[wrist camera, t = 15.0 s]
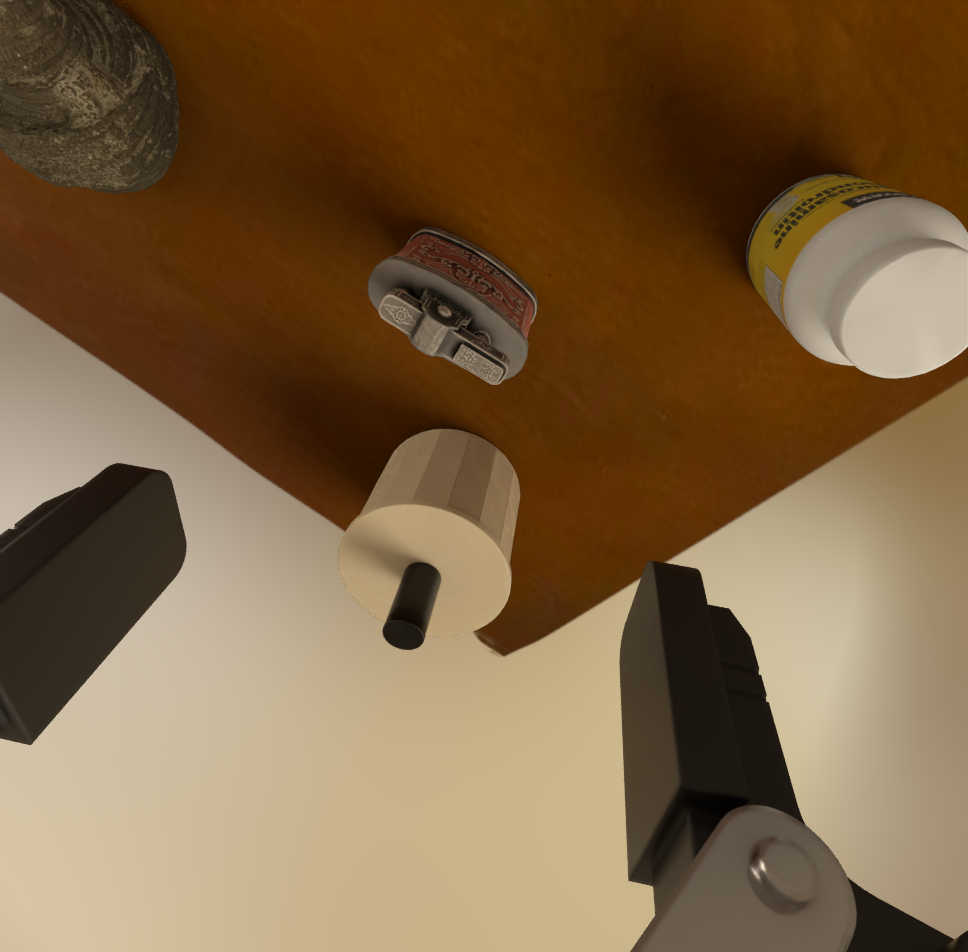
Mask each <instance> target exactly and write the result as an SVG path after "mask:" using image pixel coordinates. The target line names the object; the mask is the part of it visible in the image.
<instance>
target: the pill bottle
mask: <svg viewBox="0 0 968 952" xmlns="http://www.w3.org/2000/svg"><path fill="white" fill-rule="evenodd" d="M746 262H747V270H748V274H749V277H750V279H751V282H752V284H753V286H754V287H755V289H756V290H757V292H758V293H759V294H760V295H761V297H762V298H763V299H764V300H765V302H766V303H767V304H768V305H769V307H770V308H771V309H772V310H773V312H774V313H775V314H776V315H777V317H778V318H779V319H780V320H781V322H782V323H783V324H784V325H785V327H786V328H787V329H788V330H789V332H790V333H791V334H792V336H793V337H794V338H795V339H796V340H797V341H798V342H799V343H800V344H801V345H802V346H803V347H804V348H805V349H806V350H807V351H809V352H810V353H811V354H813V355H815V356H817V357H818V358H820V359H823V360H825V361H828V362H832V363H836V364H841V365H851V366H856V367H857V368H858V369H860V370H861V371H863V372H865V373H868V374H871V375H874V376H878V377H884V378H904V377H911V376H915V375H919V374H923V373H926V372H928V371H931V370H933V369H936V368H938V367H939V366H942V365H944V364H945V363H947V362H948V361H950V360H951V359H953V358H954V357H956V356H957V355H959V354H960V353H961V352H962V351H963V350H965V349H966V348H967V347H968V233H967V231H966V229H965V228H964V226H963V225H962V224H961V222H960V221H959V220H958V219H957V218H956V217H955V216H954V215H953V214H952V213H950V212H949V211H948V210H946V209H944V208H943V207H941V206H939V205H937V204H934V203H932V202H930V201H927V200H925V199H921V198H918V197H915V196H913V195H909V194H906V193H903V192H901V191H898V190H895V189H892V188H889V187H886V186H883V185H880V184H877V183H874V182H871V181H868V180H865V179H863V178H860V177H855V176H852V175H846V174H824V175H819V176H815V177H811V178H808V179H806V180H803V181H801V182H799V183H797V184H795V185H793V186H791V187H790V188H788V189H787V190H785V191H784V192H782V193H781V194H780V195H779V196H777V197H776V198H775V199H774V200H773V201H772V202H771V203H770V204H769V205H768V206H767V207H766V209H765V210H764V211H763V212H762V214H761V215H760V217H759V218H758V220H757V222H756V223H755V225H754V227H753V230H752V232H751V235H750V237H749V241H748V246H747V254H746Z"/></svg>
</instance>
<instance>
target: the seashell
mask: <svg viewBox="0 0 968 952" xmlns="http://www.w3.org/2000/svg"><path fill="white" fill-rule="evenodd" d="M176 87H177V81H176V77H175V73H174V69H173V65H172V63H171V62H170V59H169V57H168V55H167V53H166V51H165V50H164V48H163V47H162V46H161V45H160V43H159V42H158V41H157V39H156V38H155V37H153V36H152V35H151V34H150V33H149V32H147V31H146V30H145V29H143V28H142V27H141V26H139V25H138V24H136V23H135V22H134V21H133V20H132V19H131V18H130V17H129V16H128V15H127V14H126V13H125V12H124V11H123V10H121V9H120V8H119V7H118V6H117V5H116V4H114V3H113V2H112V1H110V0H0V149H1V150H2V151H3V152H4V153H5V154H6V155H7V156H8V157H9V158H10V159H12V160H13V161H15V162H16V163H18V164H20V165H21V166H23V167H24V168H25V169H26V170H27V171H29V172H30V173H32V174H34V175H36V176H37V177H39V178H41V179H43V180H44V181H46V182H49V183H52V184H54V185H56V186H61V187H67V188H73V187H76V186H78V187H84V188H90V189H93V190H96V191H100V192H110V193H114V194H116V193H128V192H136V191H139V190H143V189H146V188H149V187H151V186H152V185H154V184H155V183H156V182H158V181H159V180H160V179H161V178H162V177H163V176H164V175H165V173H166V172H167V170H168V168H169V166H170V164H171V162H172V159H173V157H174V154H175V151H176V147H177V145H178V142H179V132H178V128H179V127H178V122H179V111H180V105H179V102H178V100H177V90H176ZM66 263H67V262H66ZM81 286H82V285H81Z"/></svg>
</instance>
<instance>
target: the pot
mask: <svg viewBox="0 0 968 952" xmlns="http://www.w3.org/2000/svg"><path fill="white" fill-rule="evenodd" d="M405 499H411V500H425V501H432V502H436V503H440V504H444V505H447V506H450V507H453V508H455V509H457V510H459V511H461V512H464V513H466V514H467V515H469V516H471V517H472V518H474V519H475V520H477V521H478V522H479V523H481V524H482V525H483V526H485V527H486V528H487V529H488V530H489V531H490V532H491V533H492V534H493V535H494V537H495V538H496V539H497V540H498V541H499V543H500V544H501V546H502V548H503V549H504V551H505V553H506V555H507V558H508V560H509V563H510V557H511V551H512V544H513V538H514V532H515V525H516V519H517V513H518V506H519V500H520V487H519V482H518V478H517V475H516V473H515V470H514V468H513V467H512V465H511V463H510V462H509V460H508V459H507V458H506V456H505V455H504V454H503V453H502V452H501V451H500V450H499V449H497V448H496V447H495V446H494V445H493V444H491V443H489V442H488V441H486V440H485V439H483V438H481V437H479V436H477V435H474V434H471V433H468V432H465V431H460V430H454V429H435V430H429V431H425V432H421V433H419V434H416V435H414V436H412V437H410V438H409V439H407V440H405V441H404V442H403V443H402V444H400V445H399V447H398V448H397V449H396V450H395V451H394V452H393V454H392V456H391V457H390V459H389V461H388V463H387V465H386V467H385V468H384V470H383V472H382V474H381V476H380V478H379V480H378V482H377V483H376V485H375V487H374V489H373V491H372V493H371V495H370V497H369V499H368V501H367V502H366V504H365V506H364V508H363V510H362V512H361V514H362V513H363V512H364V511H366V510H368V509H370V508H372V507H374V506H377V505H379V504H382V503H386V502H390V501H395V500H405Z"/></svg>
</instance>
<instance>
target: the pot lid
mask: <svg viewBox="0 0 968 952" xmlns="http://www.w3.org/2000/svg"><path fill="white" fill-rule="evenodd" d="M338 566H339V571H340V575H341V578H342V580H343V582H344V584H345V586H346V588H347V589H348V591H349V592H350V594H351V595H352V597H353V598H354V599H355V600H356V601H357V602H358V603H359V604H360V605H361V606H362V607H363V608H364V609H365V610H366V611H368V612H369V613H370V614H371V615H373V616H374V617H376V618H377V619H379V620H381V621H383V622H384V623H385V625H384V627H383V636H384V638H385V639H386V641H387V642H388V643H389V644H391V645H392V646H394V647H396V648H399V649H403V650H412V649H416V648H418V647H420V646H421V645H422V643H423V642H424V638H425V636H433V637H448V636H456V635H461V634H465V633H469V632H472V631H475V630H477V629H479V628H481V627H483V626H485V625H486V624H488V623H489V622H491V621H492V620H493V619H494V618H495V617H496V616H497V615H498V614H499V613H500V612H501V610H502V609H503V608H504V606H505V604H506V602H507V600H508V597H509V593H510V588H511V579H512V577H511V568H510V564H509V560H508V558H507V555H506V553H505V551H504V549H503V548H502V546H501V544H500V543H499V541H498V540H497V539H496V538H495V537H494V535H493V534H492V533H491V532H490V531H489V530H488V529H487V528H486V527H485V526H483V525H482V524H481V523H479V522H478V521H477V520H475V519H474V518H472V517H471V516H469V515H467V514H466V513H464V512H461V511H459V510H457V509H455V508H453V507H450V506H447V505H444V504H440V503H436V502H432V501H425V500H411V499H405V500H395V501H390V502H386V503H382V504H379V505H377V506H374V507H372V508H370V509H368V510H366V511H364V512H363V513H362V514H360V515H359V516H358V517H357V518H356V519H355V520H354V521H353V522H352V523H351V524H350V525H349V527H348V528H347V530H346V531H345V533H344V535H343V537H342V540H341V542H340V545H339V549H338Z"/></svg>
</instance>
